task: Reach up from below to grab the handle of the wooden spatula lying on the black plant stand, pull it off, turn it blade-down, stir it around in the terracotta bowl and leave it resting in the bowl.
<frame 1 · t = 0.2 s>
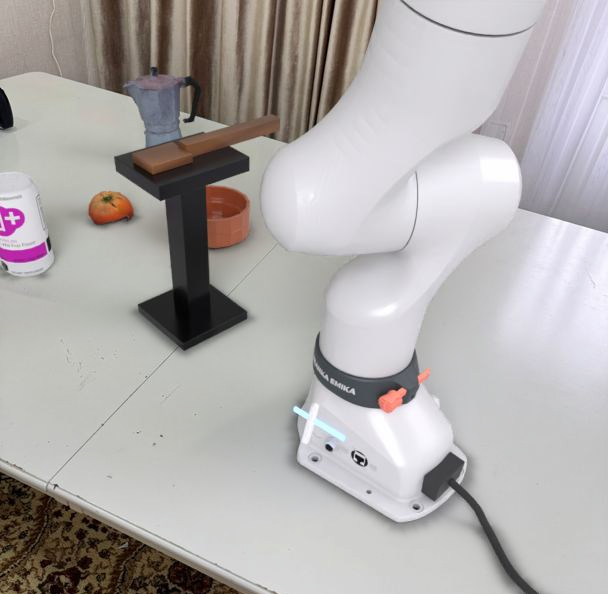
black plant stand: (193, 315, 97), on the table
bowl: (214, 231, 116), on the table
wooden spatula: (201, 150, 81), point 26 cm above the table, touching black plant stand
supplement can: (29, 266, 104), on the table
tomato: (111, 217, 118), on the table
moka pot: (168, 163, 136), on the table
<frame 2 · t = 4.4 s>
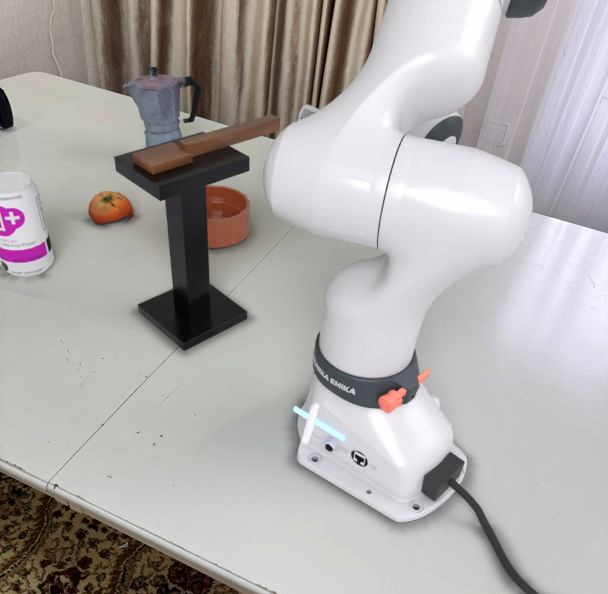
hand: (324, 123, 95), 25 cm above the table, tool pointing upward, fingers open, 8 cm apart
nothing on the table moved.
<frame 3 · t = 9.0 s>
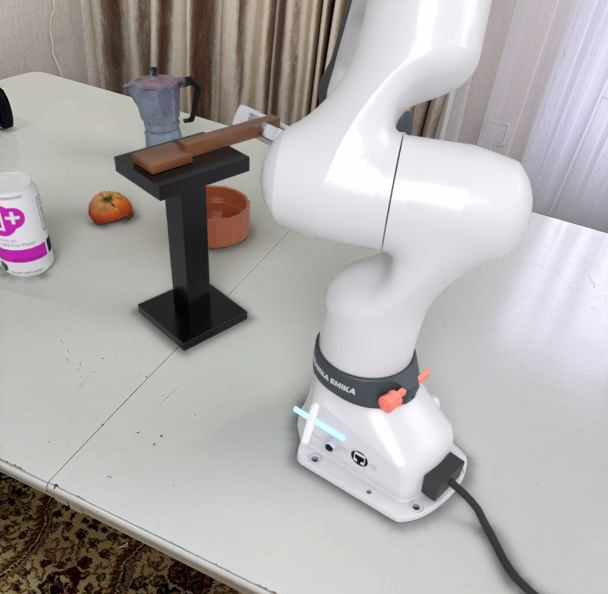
hand: (255, 125, 86), 27 cm above the table, tool pointing upward, fingers closed on wooden spatula, 2 cm apart
wooden spatula: (201, 150, 81), point 26 cm above the table, touching gripper
everything else where it was.
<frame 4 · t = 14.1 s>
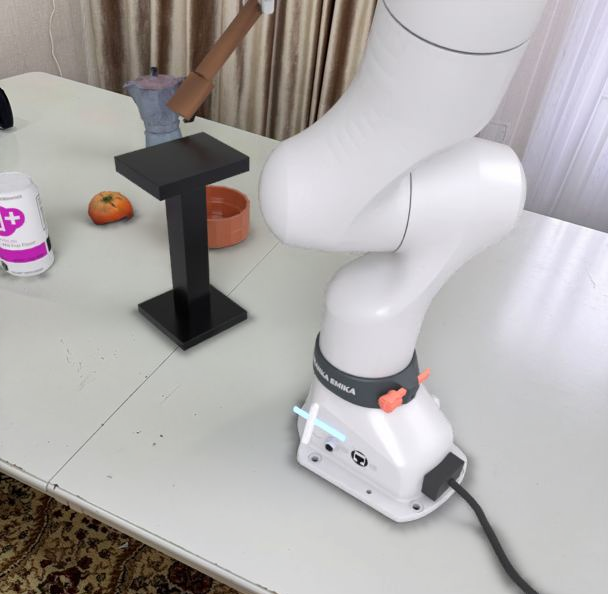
hand: (258, 10, 87), 39 cm above the table, tool pointing down, fingers closed on wooden spatula
wooden spatula: (218, 64, 87), point 33 cm above the table, tilted 39°, touching gripper
everything else where it was.
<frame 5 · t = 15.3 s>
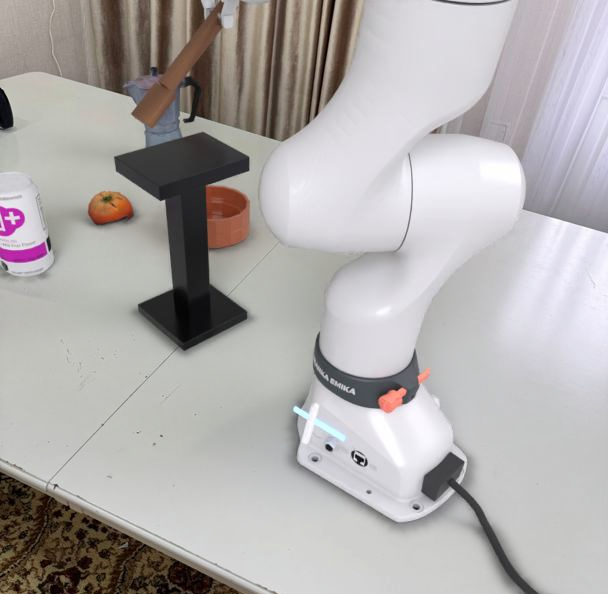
hand: (219, 24, 92), 36 cm above the table, tool pointing down, fingers closed on wooden spatula
wooden spatula: (180, 75, 92), point 30 cm above the table, tilted 39°, touching gripper
everything else where it was.
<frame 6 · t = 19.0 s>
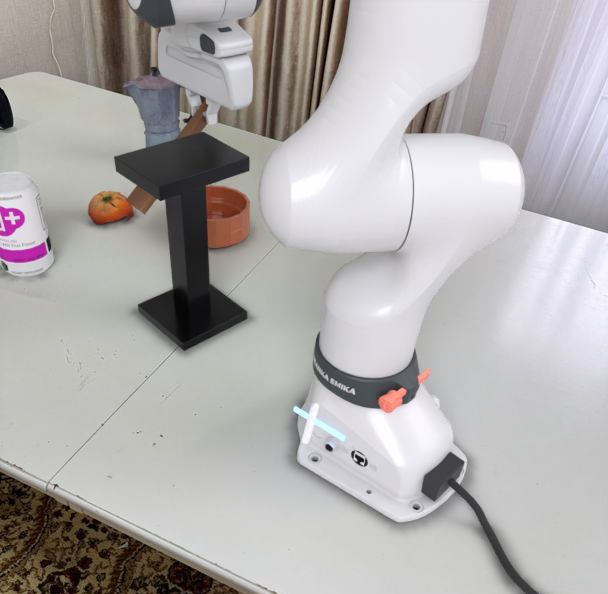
hand: (204, 120, 102), 21 cm above the table, tool pointing down, fingers closed on wooden spatula, 2 cm apart
wooden spatula: (170, 165, 102), point 15 cm above the table, tilted 39°, touching gripper
everything else where it was.
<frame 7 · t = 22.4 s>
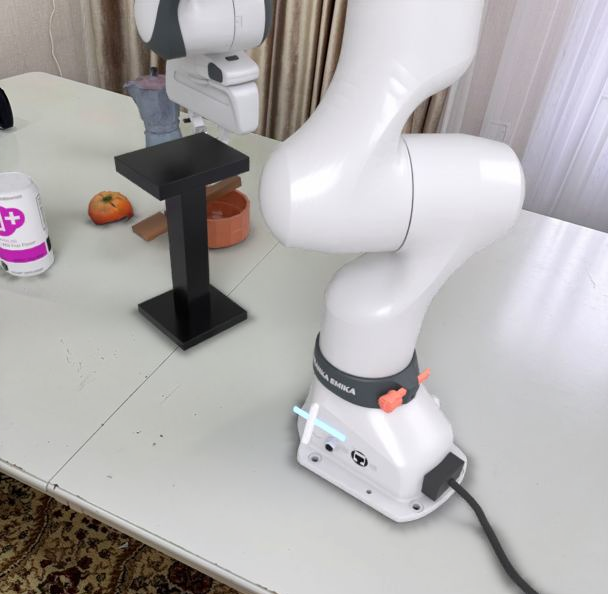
hand: (211, 142, 105), 17 cm above the table, tool pointing down, fingers open, 4 cm apart
wooden spatula: (182, 214, 108), point 6 cm above the table, tilted 8°, touching bowl
everything else where it was.
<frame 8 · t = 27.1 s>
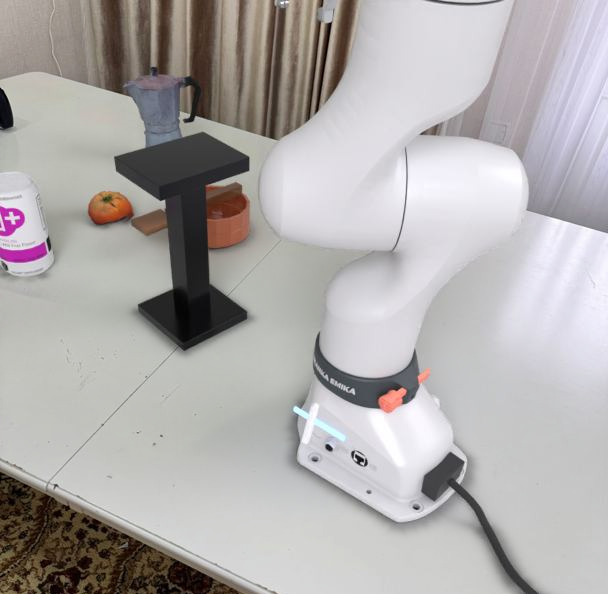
hand: (302, 14, 94), 37 cm above the table, tool pointing down, fingers open, 8 cm apart
wooden spatula: (182, 214, 108), point 6 cm above the table, touching bowl
everything else where it was.
at the end: wooden spatula touching bowl; wooden spatula 6.8 cm from the bowl (horizontally); the gripper is holding nothing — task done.
